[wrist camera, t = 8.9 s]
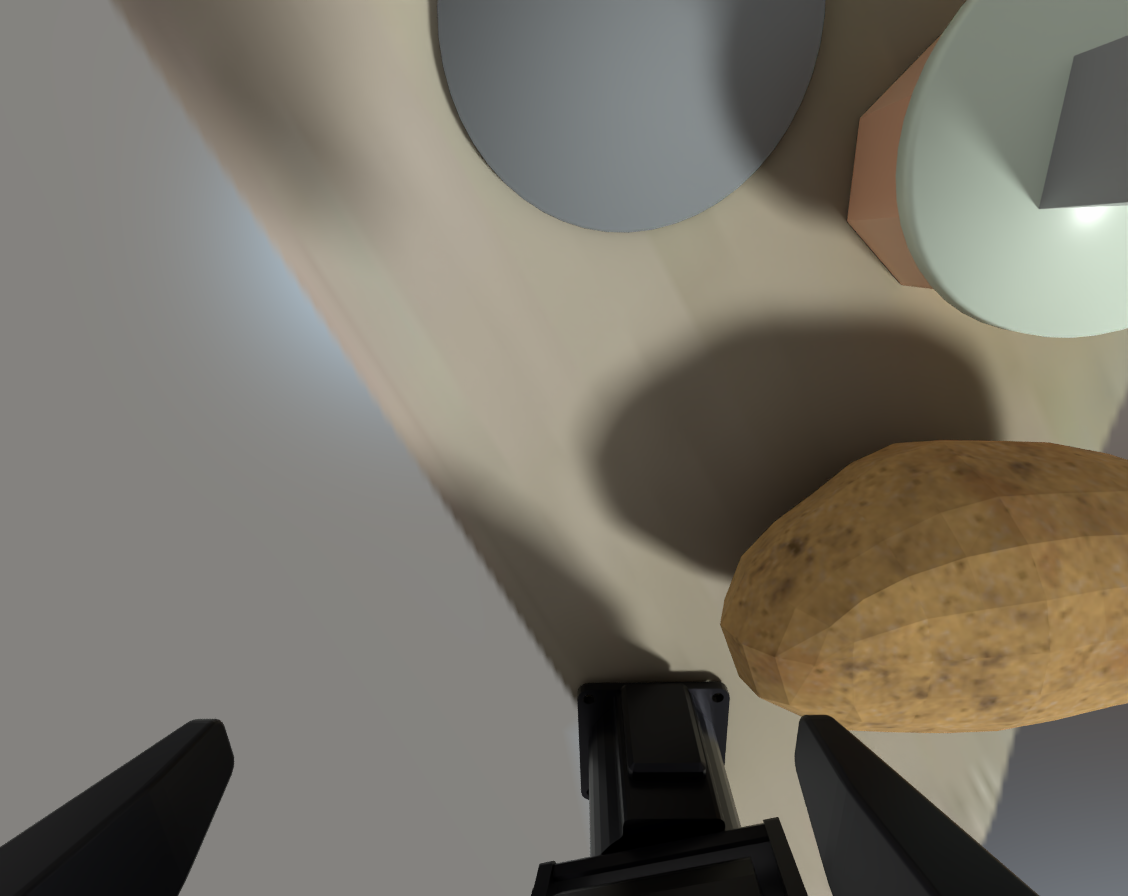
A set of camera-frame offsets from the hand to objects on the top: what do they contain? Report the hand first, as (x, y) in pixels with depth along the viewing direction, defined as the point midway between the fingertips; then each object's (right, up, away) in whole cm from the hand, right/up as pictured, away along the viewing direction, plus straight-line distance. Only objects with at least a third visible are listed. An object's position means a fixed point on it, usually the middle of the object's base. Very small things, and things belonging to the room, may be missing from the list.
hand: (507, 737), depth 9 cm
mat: (+3, +17, +8) cm, 19 cm away
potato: (+13, +2, +13) cm, 18 cm away
